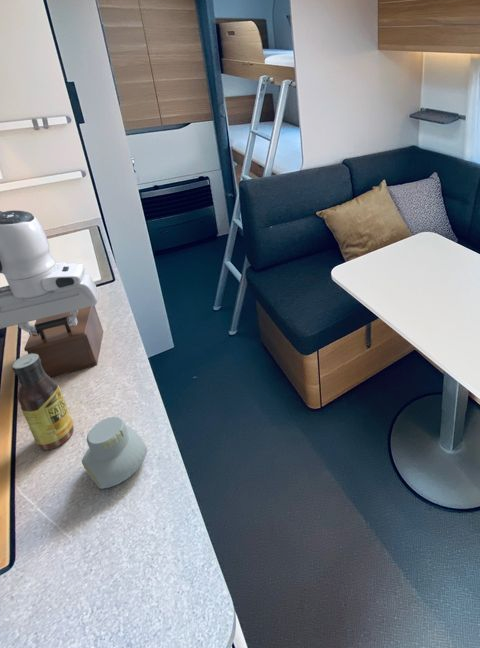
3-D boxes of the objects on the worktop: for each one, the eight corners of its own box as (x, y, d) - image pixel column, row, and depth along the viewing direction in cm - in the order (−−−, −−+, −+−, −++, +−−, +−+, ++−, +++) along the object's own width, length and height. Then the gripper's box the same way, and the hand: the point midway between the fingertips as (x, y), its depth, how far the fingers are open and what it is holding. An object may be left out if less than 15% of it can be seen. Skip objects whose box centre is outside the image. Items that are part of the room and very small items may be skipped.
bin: (97, 364, 102) (85, 333, 98) (40, 381, 97) (26, 349, 94) (103, 331, 113) (93, 302, 109) (52, 345, 109) (40, 315, 105)
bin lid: (85, 335, 97) (79, 318, 96) (25, 351, 93) (17, 334, 91) (93, 302, 109) (88, 286, 108) (40, 315, 105) (34, 298, 103)
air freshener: (82, 468, 78) (66, 431, 74) (126, 435, 84) (114, 399, 80) (110, 503, 72) (94, 465, 68) (155, 464, 78) (143, 427, 74)
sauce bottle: (69, 446, 82) (36, 371, 74) (32, 455, 80) (-6, 379, 73) (80, 419, 88) (51, 346, 80) (46, 426, 86) (13, 353, 78)
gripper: (-31, 301, 84) (-6, 353, 89) (86, 275, 92) (103, 324, 97) (-20, 285, 89) (3, 335, 95) (90, 262, 97) (106, 309, 103)
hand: (55, 329), depth 96 cm, fingers closed on bin lid, 6 cm apart
